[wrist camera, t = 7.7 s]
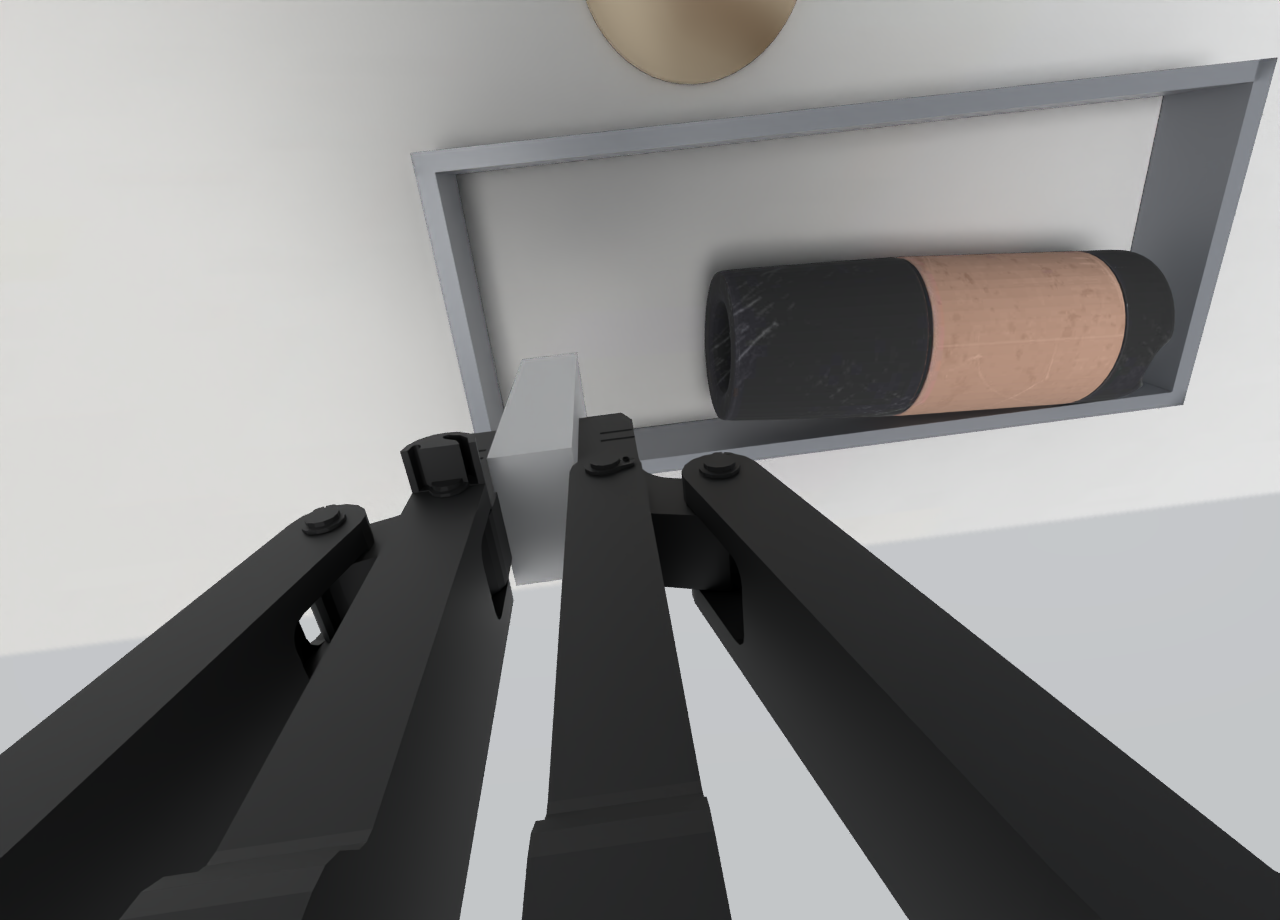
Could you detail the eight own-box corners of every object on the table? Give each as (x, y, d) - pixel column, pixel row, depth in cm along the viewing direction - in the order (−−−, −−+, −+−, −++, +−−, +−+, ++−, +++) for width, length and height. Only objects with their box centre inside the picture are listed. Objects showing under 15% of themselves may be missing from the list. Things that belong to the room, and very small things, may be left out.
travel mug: (699, 298, 34) (1043, 282, 36) (710, 436, 33) (1061, 414, 35) (728, 235, 26) (1165, 217, 28) (743, 411, 26) (1191, 384, 27)
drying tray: (499, 459, 35) (488, 494, 31) (434, 157, 29) (410, 152, 25) (1116, 380, 37) (1182, 404, 33) (1183, 75, 30) (1277, 57, 26)
